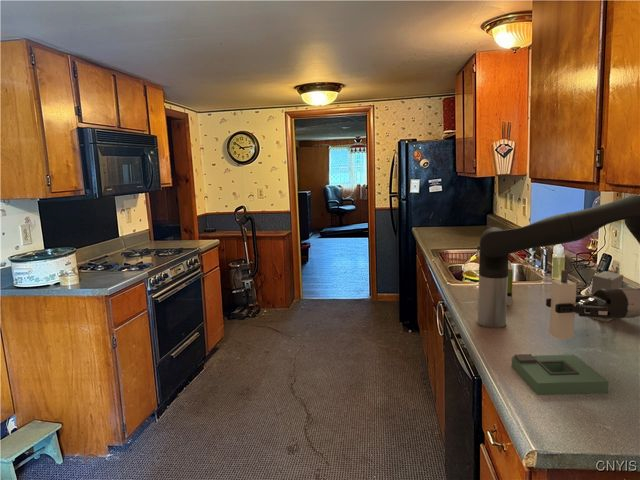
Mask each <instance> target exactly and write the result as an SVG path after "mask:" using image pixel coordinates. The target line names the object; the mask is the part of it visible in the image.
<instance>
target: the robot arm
mask: <svg viewBox="0 0 640 480" xmlns="http://www.w3.org/2000/svg"><path fill="white" fill-rule="evenodd" d="M638 195H639V194H634V195H631V196H627V197H624V198H620V199H618V200H614V201H611V202H608V203H604V204H600V205H597V206H593V207H587V208H584V209H581V210H575V211H570V212H565V213H560V214H556V215H555V214H554V215H551V216H547V217H545V218H542V219H540V220H537V221H534V222H533V223H530V224H527V225H525V226H520V227H516V228H508V229H502V228H500V227H496V226H493V227H489V228H487V229H485V230H484V231H483V232H482V234H481V236H480V238H479V261H478V262H479V263H478V293H477V294H478V295H477V323H478V324H479V325H480V326H483V327H486V328H502V327H505V326H507V325H506V323H507V310H508V305H507V288H508V261H509V255H510V254H513V253H517V252H521V251H524V250H530V249H536V248H544V247H549V246H555V245H556V246H557V245H563V244H567V243H568V244H569V243H573V242H577V241H581V240H583V239H585V238H587V237H588V236H590V235H592V234H594V233H595V232H596V231H598V230H600V229H601V228H603V227H605V226H607V225H609V224H612V223H615V222H620V221H624V224H625V226H626V229H628V231H629V232H630V234H631V235H632V236H633V238H634V239H636V241H637V243H638V244H639V245H640V196H638ZM545 306H546V307H548V308H550V307H551V297H547V298H546V299H545ZM555 312H557V313H571V312H572V313H573V314H575V315H578V316H579V317H585V318H586V317H587V318H590V317H597V318H603V319H612V320H615V319H633V318H639V317H640V288H632V287H622V288H608V289H599V290H597V291H596V292H595V294H594V295H593V296H591V294H585V293H584V294H579V292H578V291H576V302H575V303H573V304H571V303H566V304H556V305H555Z"/></svg>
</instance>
